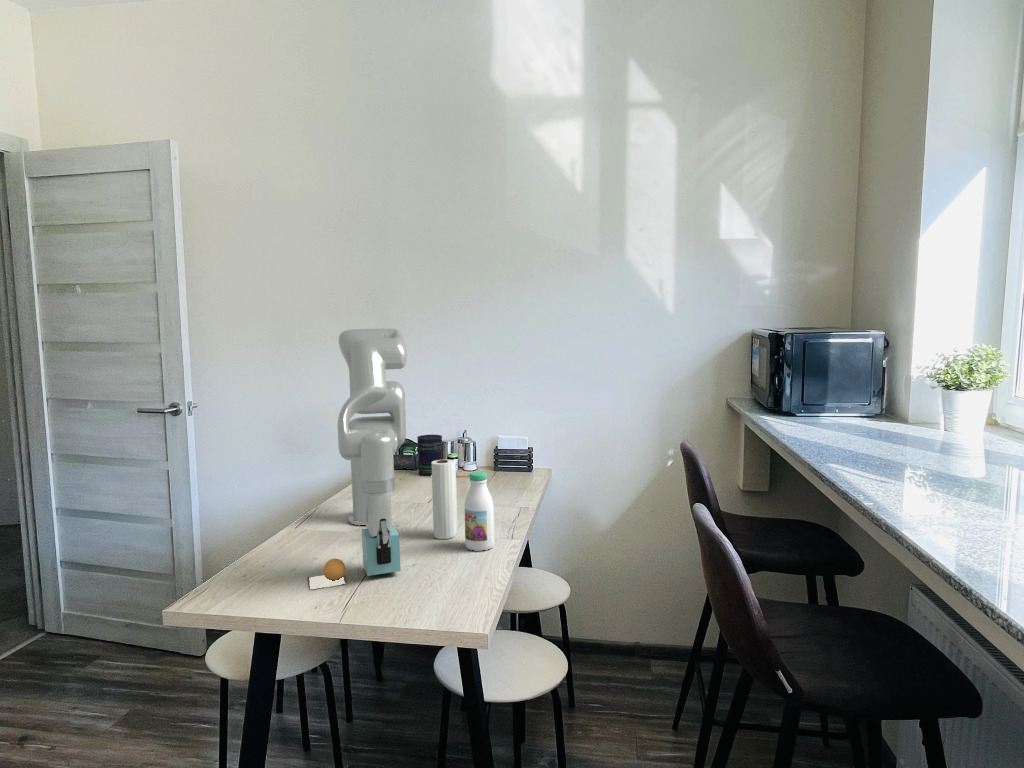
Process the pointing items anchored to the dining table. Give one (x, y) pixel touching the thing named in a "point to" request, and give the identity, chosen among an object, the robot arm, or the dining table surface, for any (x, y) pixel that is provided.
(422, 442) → the storage jar
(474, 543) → the milk bottle
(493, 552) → the dining table surface
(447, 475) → the paper towel roll
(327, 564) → the ball
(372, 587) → the dining table surface
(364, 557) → the light teal cube-like block
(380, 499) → the robot arm
